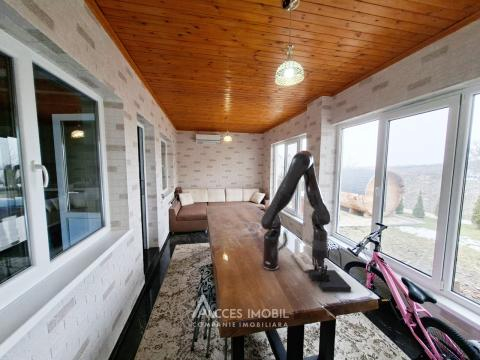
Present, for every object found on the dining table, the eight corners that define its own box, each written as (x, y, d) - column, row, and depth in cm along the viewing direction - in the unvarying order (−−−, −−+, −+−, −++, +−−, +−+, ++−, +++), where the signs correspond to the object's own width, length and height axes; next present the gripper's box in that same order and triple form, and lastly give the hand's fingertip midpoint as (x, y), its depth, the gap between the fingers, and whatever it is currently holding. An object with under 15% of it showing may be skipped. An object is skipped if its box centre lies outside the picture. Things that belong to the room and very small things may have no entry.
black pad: (308, 275, 106) (308, 269, 105) (324, 276, 106) (324, 269, 105) (311, 281, 101) (312, 274, 100) (328, 281, 101) (329, 274, 100)
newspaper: (324, 271, 114) (324, 267, 114) (304, 274, 113) (304, 270, 113) (308, 254, 137) (308, 250, 136) (291, 256, 136) (291, 252, 136)
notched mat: (310, 274, 111) (310, 269, 111) (334, 274, 111) (334, 270, 111) (323, 291, 95) (323, 286, 95) (350, 291, 95) (351, 287, 95)
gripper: (307, 241, 109) (306, 270, 110) (318, 253, 95) (317, 286, 96) (320, 242, 109) (319, 270, 110) (333, 253, 95) (331, 286, 96)
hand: (318, 277), depth 103 cm, fingers closed on black pad, 5 cm apart
